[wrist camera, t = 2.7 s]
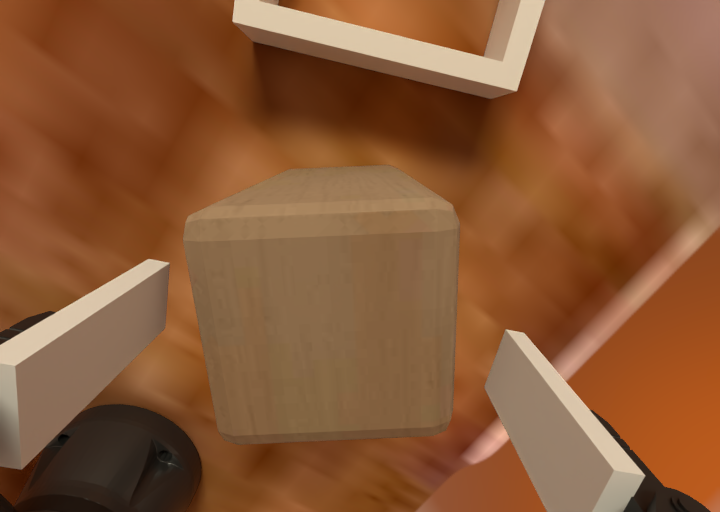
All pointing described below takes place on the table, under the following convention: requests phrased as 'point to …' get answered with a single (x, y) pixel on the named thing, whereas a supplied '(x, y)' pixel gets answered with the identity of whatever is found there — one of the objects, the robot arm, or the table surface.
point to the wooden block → (327, 306)
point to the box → (401, 46)
